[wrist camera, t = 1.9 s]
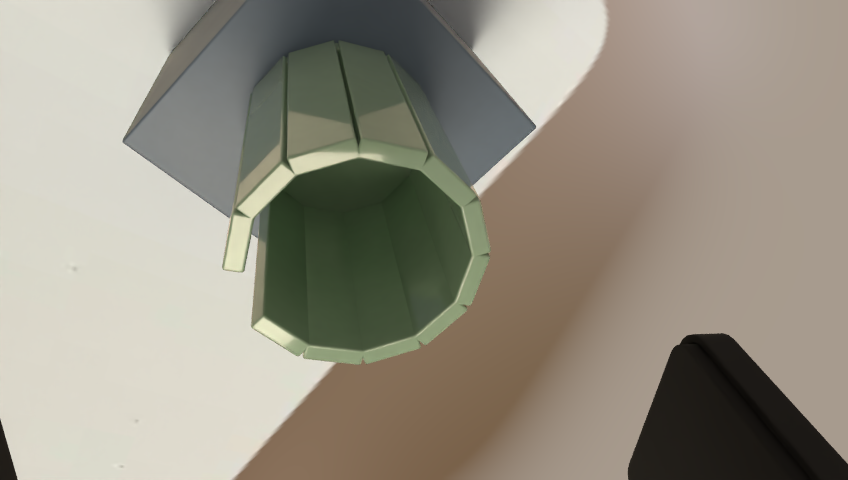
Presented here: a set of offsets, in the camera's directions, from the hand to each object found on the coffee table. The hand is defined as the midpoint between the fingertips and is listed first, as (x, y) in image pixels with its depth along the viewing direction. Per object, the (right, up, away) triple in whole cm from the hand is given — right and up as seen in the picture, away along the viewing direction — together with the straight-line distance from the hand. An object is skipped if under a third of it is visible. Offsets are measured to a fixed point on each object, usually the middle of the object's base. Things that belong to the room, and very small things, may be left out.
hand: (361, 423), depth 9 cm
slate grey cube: (-3, +10, +15) cm, 18 cm away
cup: (-1, +5, +9) cm, 10 cm away
